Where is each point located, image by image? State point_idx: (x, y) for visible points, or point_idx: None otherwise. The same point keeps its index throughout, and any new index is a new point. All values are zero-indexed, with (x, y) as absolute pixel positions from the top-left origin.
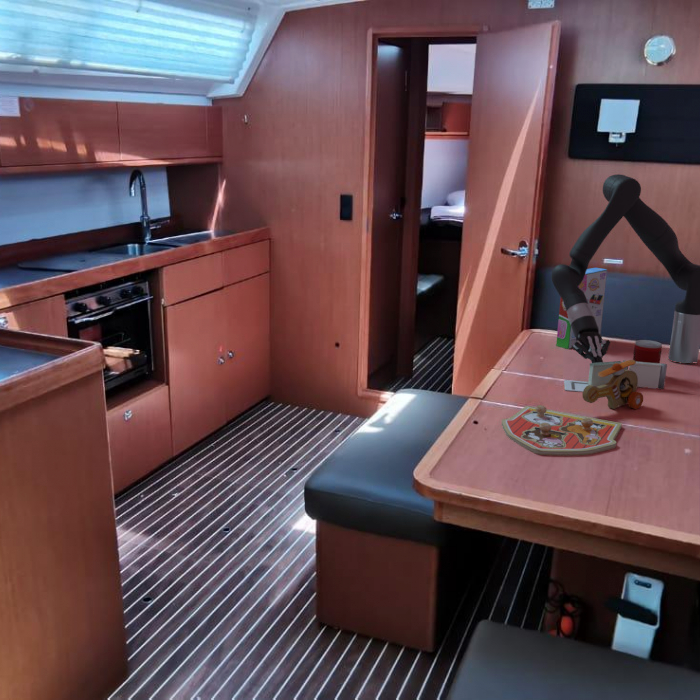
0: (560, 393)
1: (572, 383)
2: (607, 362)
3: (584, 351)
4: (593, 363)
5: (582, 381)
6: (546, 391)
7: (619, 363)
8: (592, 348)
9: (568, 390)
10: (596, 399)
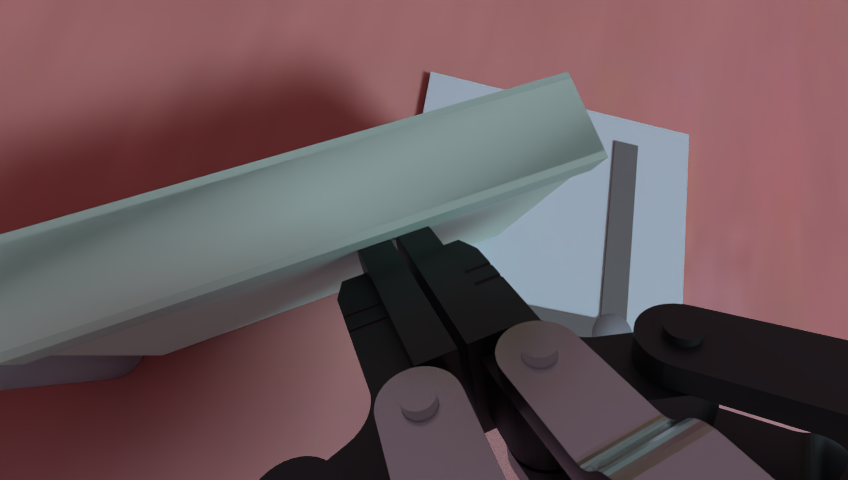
0: (716, 76)
1: (618, 295)
2: (303, 231)
3: (822, 338)
4: (556, 153)
5: None
6: (805, 113)
7: (79, 214)
8: (688, 441)
9: (660, 130)
10: None
